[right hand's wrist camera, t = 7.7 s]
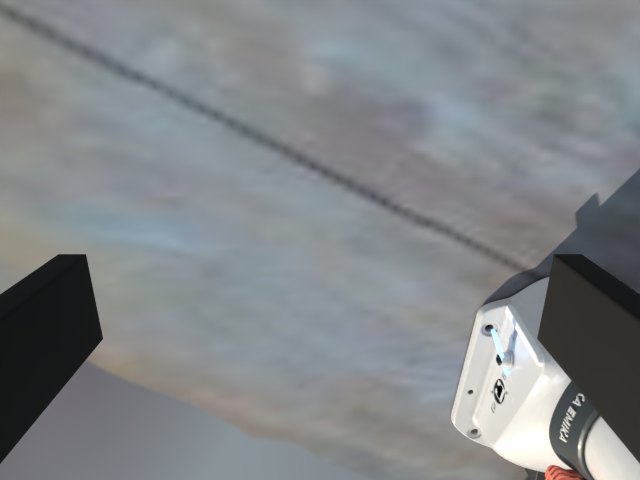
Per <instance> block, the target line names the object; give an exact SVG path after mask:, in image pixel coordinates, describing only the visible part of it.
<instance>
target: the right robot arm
mask: <svg viewBox="0 0 640 480" xmlns="http://www.w3.org/2000/svg"><path fill="white" fill-rule="evenodd" d="M102 339H103V337H102V332H101V327H100V322H99V317H98V312H97V307H96V302H95V297H94V292H93V287H92V282H91V277H90V272H89V267H88V262H87V257H86V254H59V255H57V256H56V257H54V258H53V259H51V260H50V261H48V262H47V263H45V264H44V265H43V266H41V267H40V268H38V269H37V270H35V271H34V272H32V273H31V274H29V275H28V276H27V277H25V278H24V279H22V280H21V281H19V282H18V283H16V284H15V285H13V286H12V287H11V288H9V289H8V290H6V291H5V292H3V293H2V294H0V463H1V462H2V461H3V460H4V458H5V457H6V456H7V455H8V454H9V452H10V451H11V450H12V449H13V448H14V446H15V445H16V444H17V443H18V442H19V440H20V439H21V438H22V437H23V435H24V434H25V433H26V432H27V431H28V429H29V428H30V427H31V426H32V424H33V423H34V422H35V421H36V420H37V418H38V417H39V416H40V415H41V413H42V412H43V411H44V410H45V409H46V407H47V406H48V405H49V404H50V403H51V401H52V400H53V399H54V398H55V396H56V395H57V394H58V393H59V392H60V390H61V389H62V388H63V387H64V385H65V384H66V383H67V382H68V381H69V379H70V378H71V377H72V376H73V375H74V373H75V372H76V371H77V370H78V369H79V367H80V366H81V365H82V364H83V362H84V361H85V360H86V359H87V358H88V356H89V355H90V354H91V353H92V351H93V350H94V349H95V348H96V347H97V345H98V344H99V343H100V342H101V341H102ZM537 339H538V341H539V342H540V343H541V344H542V345H543V347H544V348H545V349H546V350H547V351H548V353H549V354H550V355H551V356H552V358H553V359H554V360H555V361H556V362H557V364H558V365H559V366H560V367H561V369H562V370H563V371H564V372H565V373H566V375H567V376H568V377H569V378H570V379H571V381H572V382H573V383H574V384H575V386H576V387H577V388H578V389H579V390H580V392H581V393H582V394H583V395H584V396H585V398H586V399H587V400H588V401H589V403H590V404H591V405H592V406H593V407H594V409H595V410H596V411H597V412H598V414H599V415H600V416H601V417H602V418H603V420H604V421H605V422H606V423H607V424H608V426H609V427H610V428H611V429H612V431H613V432H614V433H615V434H616V435H617V437H618V438H619V439H620V440H621V442H622V443H623V444H624V445H625V446H626V448H627V449H628V450H629V451H630V452H631V454H632V455H633V456H634V457H635V459H636V460H637V461H638V462H639V463H640V294H638V293H637V292H635V291H634V290H632V289H631V288H629V287H628V286H627V285H625V284H624V283H622V282H621V281H619V280H618V279H616V278H615V277H613V276H612V275H611V274H609V273H608V272H606V271H605V270H603V269H602V268H600V267H599V266H597V265H596V264H595V263H593V262H592V261H590V260H589V259H587V258H586V257H584V256H583V255H581V254H554V257H553V262H552V267H551V272H550V277H549V282H548V287H547V292H546V297H545V302H544V307H543V312H542V317H541V322H540V327H539V332H538V337H537Z"/></svg>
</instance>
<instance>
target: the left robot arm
mask: <svg viewBox="0 0 640 480" xmlns="http://www.w3.org/2000/svg"><path fill="white" fill-rule="evenodd" d="M549 277H550V276H549ZM549 277H546V278H544V279H541V280H539V281H537V282H535V283H533V284H531V285H529V286H528V287H526V288H525V289H523V290H522V291H520V292H518V293H517V294H515V295H513V296H511V297H509V298H506V299H501V300H497V301H494V302H490V303H488V304H486V305H484V306H482V307H481V308H480V309H479V310H478V312H477V315H476V319H475V323H474V327H473V331H472V335H471V339H470V343H469V347H468V350H467V354H466V358H465V362H464V366H463V370H462V374H461V378H460V382H459V386H458V389H457V393H456V397H455V401H454V405H453V409H452V413H451V420H452V422H453V424H454V426H455V427H456V428H457V429H458V430H459V431H460V432H461V433H462V434H464V435H465V436H467V437H468V438H470V439H472V440H473V441H475V442H478V443H480V444H482V445H485V446H488V447H491V448H493V450H494V451H495V452H497V453H498V454H499V455H500V456H502V457H503V458H505V459H506V460H508V461H510V462H512V463H515V464H517V465H519V466H522V467H525V470H526V472H527V474H528V476H529V478H530V480H640V463H639V462H638V461H637V460H636V459H635V457H634V456H633V455H632V454H631V452H630V451H629V450H628V449H627V448H626V446H625V445H624V444H623V443H622V442H621V440H620V439H619V438H618V437H617V435H616V434H615V433H614V432H613V431H612V429H611V428H610V427H609V426H608V424H607V423H606V422H605V421H604V420H603V418H602V417H601V416H600V415H599V414H598V412H597V411H596V410H595V409H594V407H593V406H592V405H591V404H590V403H589V401H588V400H587V399H586V398H585V396H584V395H583V394H582V393H581V392H580V390H579V389H578V388H577V387H576V386H575V384H574V383H573V382H572V381H571V379H570V378H569V377H568V376H567V375H566V373H565V372H564V371H563V370H562V369H561V367H560V366H559V365H558V364H557V362H556V361H555V360H554V359H553V358H552V356H551V355H550V354H549V353H548V351H547V350H546V349H545V348H544V347H543V345H542V344H541V343H540V342H539V341H538V339H537V337H538V332H539V327H540V322H541V317H542V312H543V307H544V302H545V297H546V292H547V287H548V282H549ZM489 324H491V326H490V327H488V328H485V327H486V326H487V325H489ZM473 429H474V430H473Z"/></svg>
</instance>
